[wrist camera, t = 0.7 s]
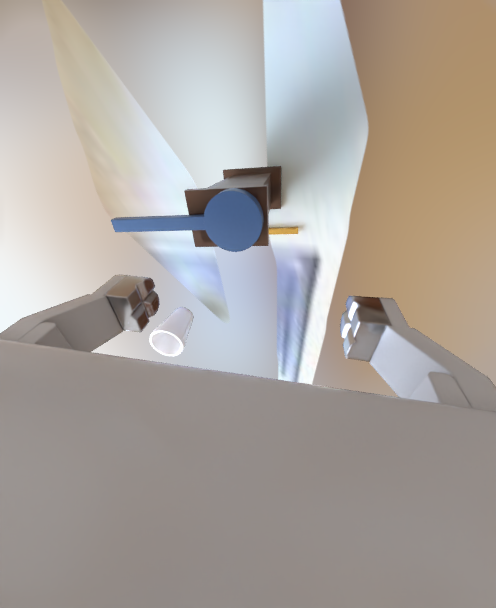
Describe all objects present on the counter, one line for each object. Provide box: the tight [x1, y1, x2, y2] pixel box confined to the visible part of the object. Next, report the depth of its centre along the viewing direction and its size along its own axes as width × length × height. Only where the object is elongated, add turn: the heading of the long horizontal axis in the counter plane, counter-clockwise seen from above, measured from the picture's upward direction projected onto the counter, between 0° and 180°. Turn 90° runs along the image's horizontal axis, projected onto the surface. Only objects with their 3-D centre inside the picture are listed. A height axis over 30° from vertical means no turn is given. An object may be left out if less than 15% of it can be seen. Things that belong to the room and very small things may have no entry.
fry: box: [269, 227, 298, 234], centre depth 54 cm, size 1×8×1 cm, turn 93°
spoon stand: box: [185, 166, 281, 247], centre depth 40 cm, size 8×12×26 cm, turn 94°
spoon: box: [111, 188, 264, 252], centre depth 29 cm, size 7×20×2 cm, turn 94°
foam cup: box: [149, 307, 193, 356], centre depth 68 cm, size 10×9×13 cm
